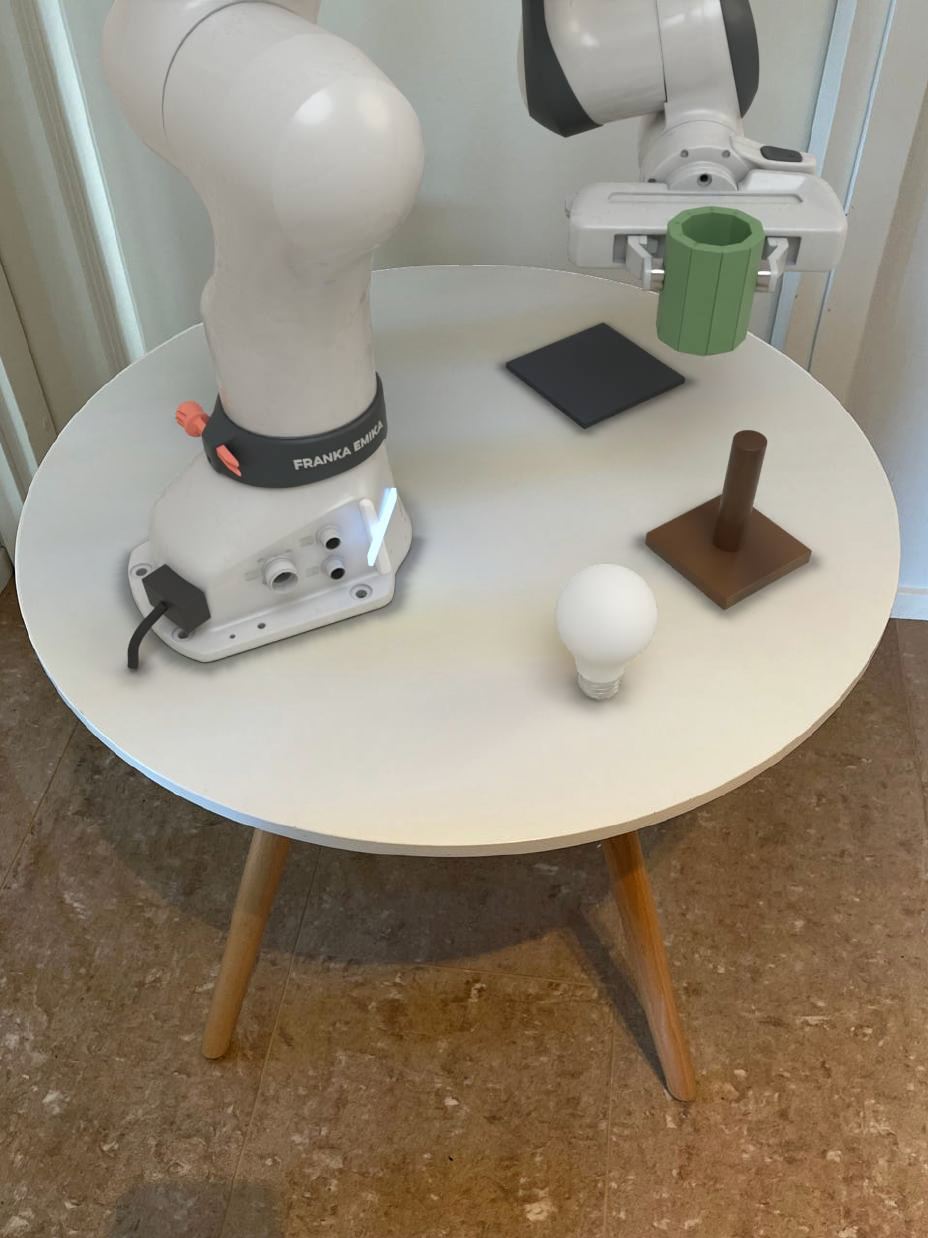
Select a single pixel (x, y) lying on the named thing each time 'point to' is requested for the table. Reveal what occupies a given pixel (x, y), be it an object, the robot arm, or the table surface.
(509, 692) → the table surface
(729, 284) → the green tube
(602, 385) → the mat
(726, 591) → the peg stand
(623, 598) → the light bulb
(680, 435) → the table surface
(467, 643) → the table surface
